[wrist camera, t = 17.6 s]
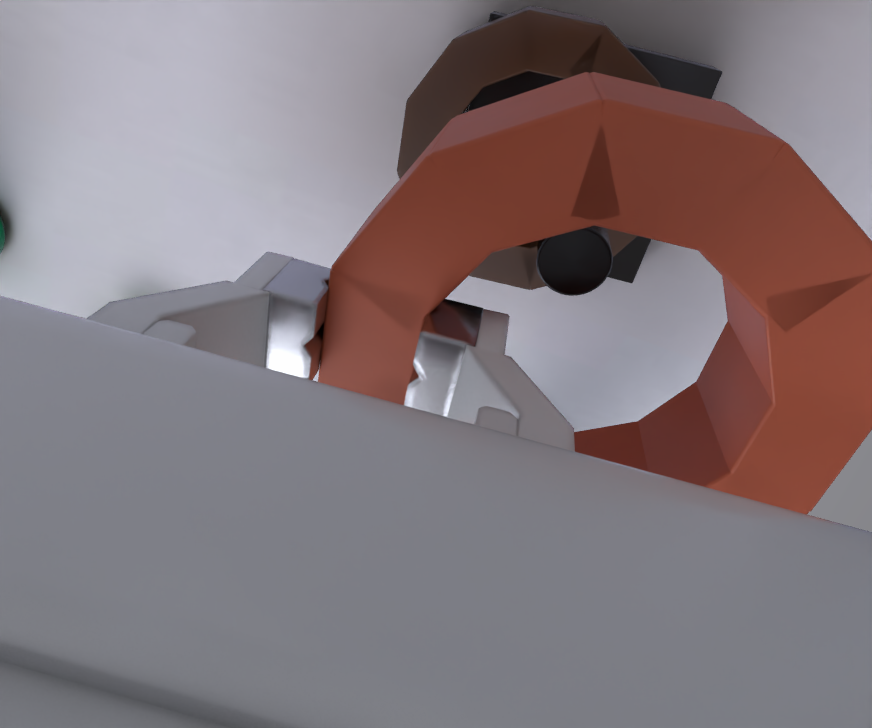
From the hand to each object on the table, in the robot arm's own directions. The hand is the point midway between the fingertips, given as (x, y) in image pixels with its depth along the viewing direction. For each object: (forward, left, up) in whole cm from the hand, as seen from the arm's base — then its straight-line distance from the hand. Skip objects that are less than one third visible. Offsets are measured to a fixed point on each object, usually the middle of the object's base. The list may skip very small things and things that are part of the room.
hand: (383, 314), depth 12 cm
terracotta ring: (0, +4, -2) cm, 5 cm away
